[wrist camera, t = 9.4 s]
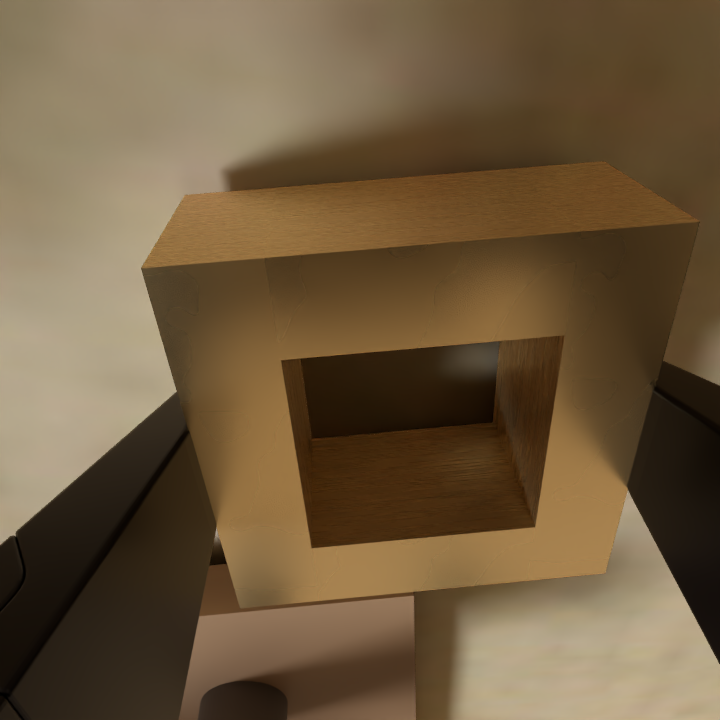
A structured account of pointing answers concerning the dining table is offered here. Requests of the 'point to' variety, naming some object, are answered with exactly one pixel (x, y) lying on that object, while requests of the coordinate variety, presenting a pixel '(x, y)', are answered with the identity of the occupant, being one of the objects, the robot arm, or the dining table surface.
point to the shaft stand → (301, 658)
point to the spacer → (408, 331)
